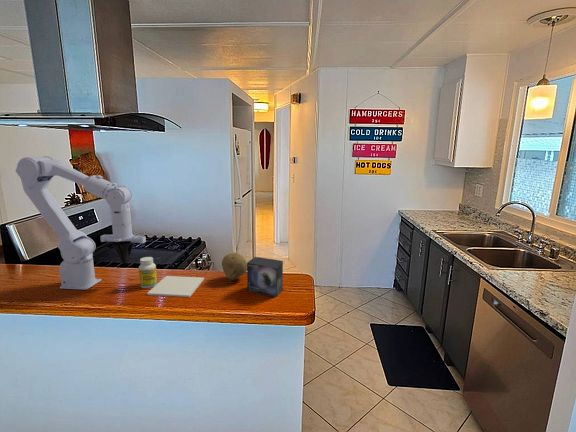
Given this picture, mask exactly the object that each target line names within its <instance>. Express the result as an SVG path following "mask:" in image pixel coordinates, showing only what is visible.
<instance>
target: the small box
mask: <svg viewBox="0 0 576 432" xmlns="http://www.w3.org/2000/svg"><path fill="white" fill-rule="evenodd" d="M246 262H247V271H246V273H247V274H246V276H247V278H246V279H247V281H246V283H247V288H246V289H247V291H246V292H248V293H254V294H258V295H263V296H268V297H273V298H277V297H278V296H279V295H280V293H282V291H283V279H284V278H283V277H284V276H283V275H284V273H283V271H284V270H283V269H284V267H283V266H284V265H283V264H284V260H280V259H274V258H273V259H272V258H267V257H266V258H265V257H260V256H254V257H253V258H251V259H250V260H248V261H246Z"/></svg>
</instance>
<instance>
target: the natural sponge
mask: <svg viewBox="0 0 576 432" xmlns="http://www.w3.org/2000/svg"><path fill="white" fill-rule="evenodd" d="M221 260H222V261H221V267H222V271H223V272H224V274H225V277H226V278H227V279H228V280H230V281H235V280H238V278H240V277H241V276H244V275H245V274H246V273H247V262H248V261H247V260H246V259H245V257H244V256H243V255H242V254H241V253H238V252H232V253H227V254H226V255H225V256H224V257H223V258H222V259H221Z"/></svg>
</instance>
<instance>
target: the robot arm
mask: <svg viewBox="0 0 576 432" xmlns="http://www.w3.org/2000/svg"><path fill="white" fill-rule="evenodd" d="M15 173H16V174H17V175H18V177H19V178H20V180H21V184H22V189H23V191H24V194H26V196H27V197H28V199H30V201H31V203H32V204H33V205H34V206H35V208H36V209H37V211H38V212H39V214H41V216H42V217H43V219H44V220H45V221H46V224H48V225H49V227H50V229H52V231H53V232H54V234H55V235H56V236H57V238H58V242H57V245H56V247H58V249H59V251H60V255H61V258H62V259H63V261H62V262H61V263H60V264H59V267H58V268H59V277H60V284H61V285H60V286H59V289H61V290H62V289H63V290H65V289H66V290H81V291H82V290H84V291H86V290H88V289H90V288H91V287H94V285H96V284H98V283H100V282H101V281H102V278H96V273H95V266H94V257H93V256H94V254H93V253H94V252H95V250H96V249H97V247H96V245H97V244H96V243H95V241H94V240H93V239H92V238H91V237H89V236H87V234H86V233H85V232H83V231H81V230H78V229H77V227H75V225H74V224H73V223H72V221H71V219H69V216H67V214H66V213H65V212H64V209H62V207H61V206H60V205H59V203H58V201H56V199H55V198H54V196H53V195H52V193H51V192H50V191H49V190H48V187H49V184H50V182H51V181H52V180H53V178H54V177H55V176H58V177H60V178H63V179H66V180H68V181H71V182H74V183H76V184H77V185H81V186H83V188H84V190H85V192H88V193H90V194H92V195H94V196H97V197H99V198H101V199H103V200H105V202H106V204H108V205H109V209H110V216H111V227H112V228H111V229H112V234H103V235H100V242H102V243H104V242H111V243H112V242H113V244H112V248H113V249H114V250H115V252H116V253H117V254H118V257H119V258H120V262H121V264H124V265H126V264H127V263H129V262H130V256H131V253H132V251H133V248H134V245H135V243H136V244H137V243H138V244H139V243H140V244H145V243H146V242H147V240H146V239H147V238H146V236H145V235H144V236H143V235H138V234H133V225H132V214H131V213H132V212H131V204H130V201H131V200H132V197H133V195H132V194H133V193H132V191H131V190H130V188H128V187H127V186H126V185H119V186H118V184H117V183H116V182H111V181H108V180H107V179H105V178H104V177H103V175H95V174H93V175H90V176H88V175H87V174H85V173H83V172H81V171H80V170H77V169H75V168H73V167H71V166H69V165H67V164H65V163H63V162H62V161H61V160H59V159H55V158H53V157H52V156H47V155H44V156H39V157H38V156H36V157H31V156H30V157H29V156H26V157H22V158H21V159H20V160H18V162H17V165H16V168H15Z"/></svg>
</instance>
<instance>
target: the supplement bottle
mask: <svg viewBox="0 0 576 432" xmlns="http://www.w3.org/2000/svg"><path fill="white" fill-rule="evenodd" d="M139 263H140V265H139V266H138V276H139V284H140V286H139V287H141V289H152V288H153V287H154V286H156V285H157V284H158V276H157V275H158V273H157V266H156V264H155V262H154V257H152V256H145V257H141V258H140V259H139Z"/></svg>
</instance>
